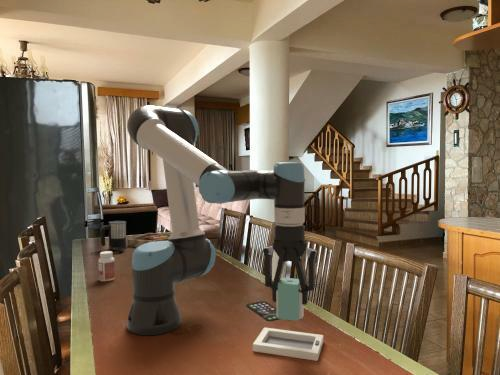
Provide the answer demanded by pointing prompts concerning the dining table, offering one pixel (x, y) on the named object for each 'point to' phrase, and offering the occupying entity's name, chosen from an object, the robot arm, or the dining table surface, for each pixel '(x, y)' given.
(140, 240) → the book tray
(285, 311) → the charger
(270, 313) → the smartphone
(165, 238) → the decorative book
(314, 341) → the white shallow tray
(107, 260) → the pill bottle
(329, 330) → the dining table surface
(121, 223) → the milk frother
